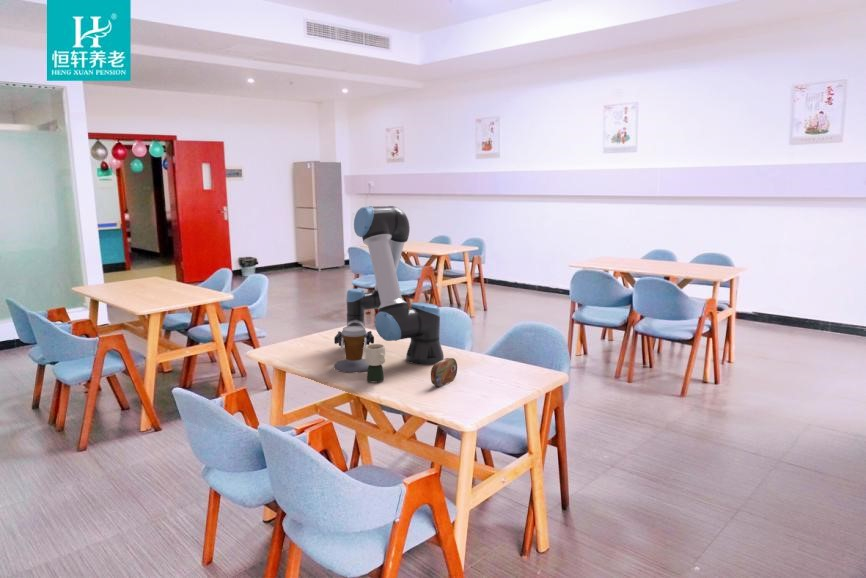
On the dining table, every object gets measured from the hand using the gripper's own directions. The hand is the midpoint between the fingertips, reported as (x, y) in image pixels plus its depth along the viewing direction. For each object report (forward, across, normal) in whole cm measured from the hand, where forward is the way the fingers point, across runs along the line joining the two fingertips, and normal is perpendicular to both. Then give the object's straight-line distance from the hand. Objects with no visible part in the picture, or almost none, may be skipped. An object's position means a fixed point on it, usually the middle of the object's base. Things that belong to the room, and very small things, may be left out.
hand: (353, 345), depth 225 cm
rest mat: (-4, 0, -10) cm, 11 cm away
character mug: (+14, -8, -10) cm, 19 cm away
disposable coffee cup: (-5, 0, -7) cm, 8 cm away
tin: (+18, -32, -10) cm, 38 cm away
